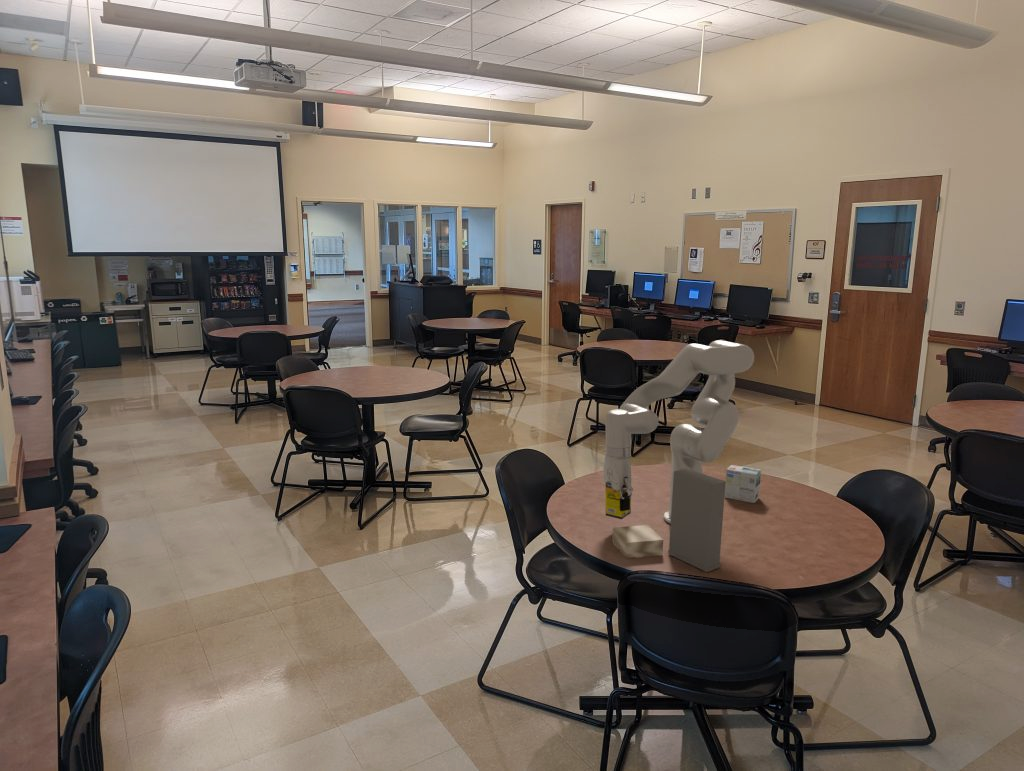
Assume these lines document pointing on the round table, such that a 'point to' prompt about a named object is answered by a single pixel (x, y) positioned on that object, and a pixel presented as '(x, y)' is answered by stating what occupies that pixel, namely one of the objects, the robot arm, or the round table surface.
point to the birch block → (637, 541)
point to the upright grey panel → (697, 519)
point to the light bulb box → (742, 483)
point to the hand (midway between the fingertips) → (618, 504)
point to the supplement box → (615, 502)
